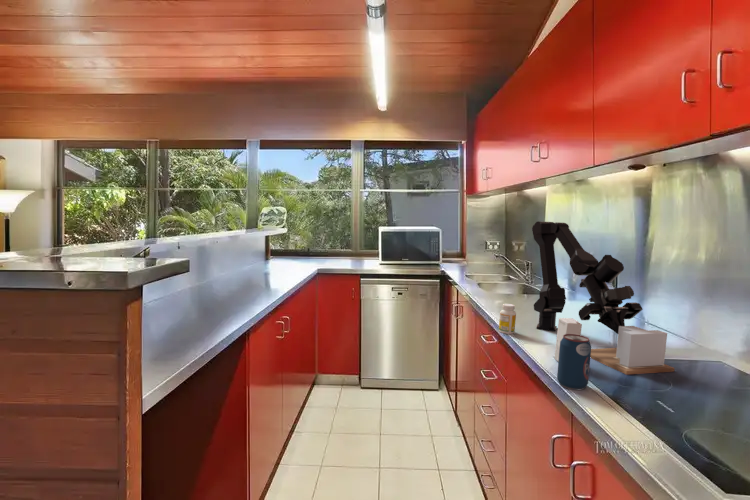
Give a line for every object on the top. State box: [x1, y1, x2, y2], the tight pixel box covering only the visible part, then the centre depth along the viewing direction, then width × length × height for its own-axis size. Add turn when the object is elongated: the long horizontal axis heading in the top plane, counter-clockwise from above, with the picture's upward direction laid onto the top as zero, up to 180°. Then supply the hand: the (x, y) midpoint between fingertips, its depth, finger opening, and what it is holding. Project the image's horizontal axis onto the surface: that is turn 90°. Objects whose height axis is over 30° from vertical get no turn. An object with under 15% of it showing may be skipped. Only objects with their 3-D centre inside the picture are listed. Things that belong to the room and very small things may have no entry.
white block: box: [616, 325, 668, 367], centre depth 126 cm, size 8×12×9 cm, turn 105°
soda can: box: [556, 334, 592, 390], centre depth 109 cm, size 7×7×12 cm
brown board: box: [590, 347, 675, 375], centre depth 129 cm, size 18×16×1 cm
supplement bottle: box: [498, 303, 517, 335], centre depth 156 cm, size 5×5×10 cm
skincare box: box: [554, 317, 583, 362], centre depth 126 cm, size 6×4×12 cm
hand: (624, 336), depth 130 cm, fingers closed
